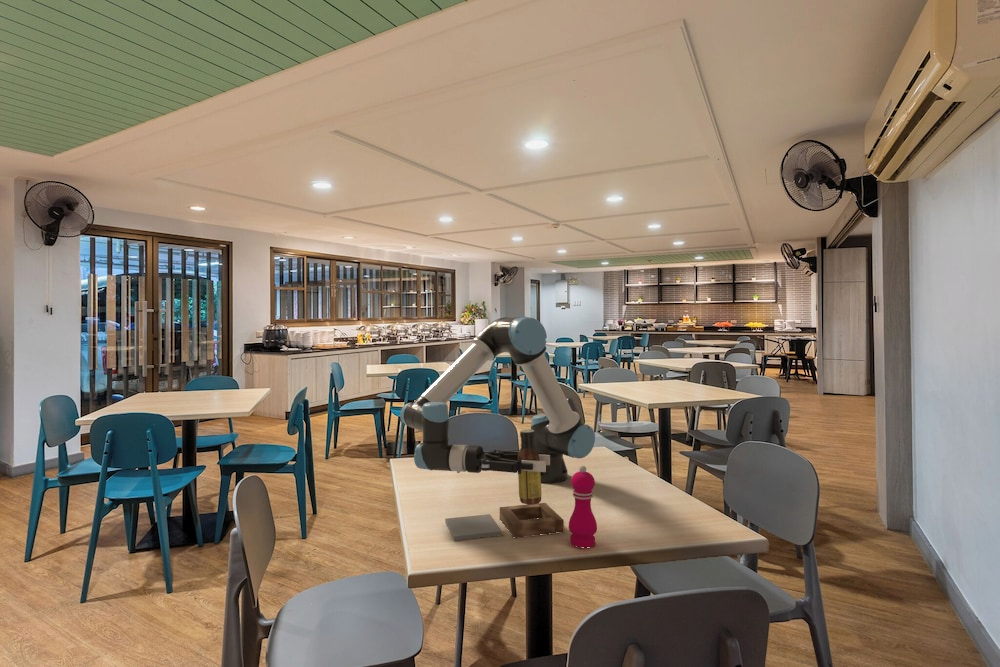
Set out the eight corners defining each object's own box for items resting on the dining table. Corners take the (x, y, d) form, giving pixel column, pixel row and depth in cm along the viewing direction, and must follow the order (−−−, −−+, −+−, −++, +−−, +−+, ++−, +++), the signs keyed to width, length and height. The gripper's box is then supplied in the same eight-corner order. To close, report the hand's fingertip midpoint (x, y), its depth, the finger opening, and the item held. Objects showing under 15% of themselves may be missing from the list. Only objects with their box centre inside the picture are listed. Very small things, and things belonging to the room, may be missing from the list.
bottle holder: (545, 514, 155) (545, 502, 155) (563, 532, 141) (563, 519, 141) (499, 519, 151) (499, 507, 151) (513, 538, 138) (513, 524, 138)
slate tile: (489, 518, 152) (489, 514, 152) (501, 535, 139) (501, 531, 139) (445, 522, 148) (445, 518, 148) (453, 540, 136) (453, 536, 136)
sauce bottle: (543, 499, 148) (543, 429, 147) (538, 506, 142) (537, 433, 142) (521, 497, 150) (521, 427, 150) (515, 504, 144) (514, 432, 144)
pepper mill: (596, 550, 130) (597, 470, 130) (567, 548, 131) (567, 468, 131) (597, 539, 137) (597, 462, 137) (569, 537, 138) (569, 461, 138)
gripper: (477, 462, 160) (553, 467, 154) (456, 481, 141) (541, 487, 135) (477, 438, 159) (552, 441, 154) (456, 453, 141) (541, 458, 135)
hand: (547, 463), depth 144 cm, fingers closed on sauce bottle, 6 cm apart
